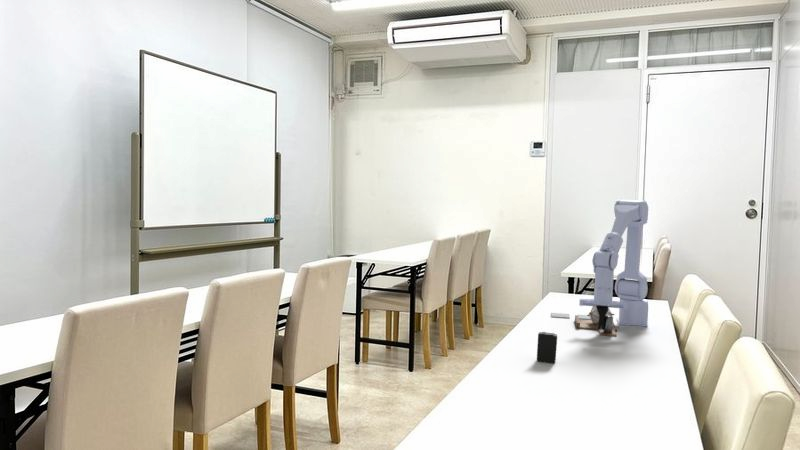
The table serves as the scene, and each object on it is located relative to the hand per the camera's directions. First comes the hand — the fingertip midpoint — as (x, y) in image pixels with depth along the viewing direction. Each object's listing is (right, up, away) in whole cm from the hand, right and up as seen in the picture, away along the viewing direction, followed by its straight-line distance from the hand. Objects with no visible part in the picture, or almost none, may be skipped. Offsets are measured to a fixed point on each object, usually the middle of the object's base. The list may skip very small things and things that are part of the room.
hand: (601, 328), depth 198 cm
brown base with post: (+1, -1, +8) cm, 8 cm away
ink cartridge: (-25, -4, -31) cm, 40 cm away
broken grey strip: (-2, 0, +24) cm, 24 cm away
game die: (+3, -1, +11) cm, 12 cm away
